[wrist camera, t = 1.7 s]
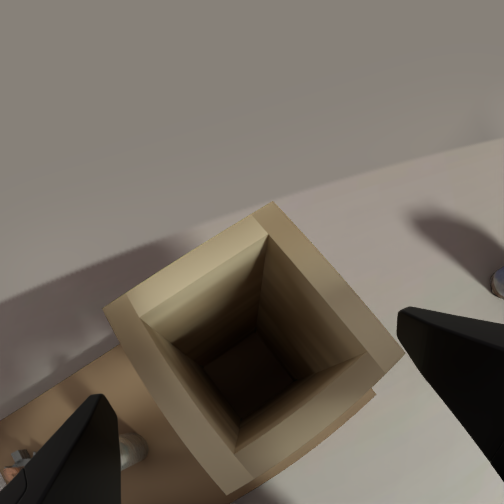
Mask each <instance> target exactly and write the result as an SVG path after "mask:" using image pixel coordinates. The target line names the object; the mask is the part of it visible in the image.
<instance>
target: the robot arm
mask: <svg viewBox="0 0 504 504" xmlns="http://www.w3.org/2000/svg"><path fill="white" fill-rule="evenodd" d="M397 337H398V339H399V341H400V343H401V344H402V346H403V347H404V349H405V350H406V352H407V353H408V355H409V356H410V358H411V359H412V361H413V362H414V364H415V365H416V367H417V368H418V370H419V371H420V373H421V374H422V375H423V377H424V378H425V379H426V380H427V382H428V383H429V384H430V385H431V387H432V388H433V389H434V390H435V391H436V393H437V394H438V395H439V396H440V398H441V399H442V400H443V401H444V403H445V404H446V405H447V407H448V408H449V409H450V410H451V412H452V413H453V414H454V415H455V417H456V418H457V419H458V421H459V422H460V423H461V424H462V426H463V427H464V428H465V430H466V431H467V432H468V434H469V435H470V436H471V438H472V439H473V440H474V441H475V443H476V444H477V445H478V447H479V448H480V450H481V451H482V452H483V454H484V455H485V456H486V458H487V459H488V460H489V462H490V463H491V465H492V466H493V468H494V469H495V470H496V472H497V473H498V475H499V476H500V477H501V479H502V480H503V482H504V324H499V323H494V322H488V321H483V320H478V319H472V318H467V317H462V316H457V315H451V314H446V313H441V312H436V311H431V310H426V309H421V308H416V307H407V308H404V309H402V310H400V311H399V312H398V317H397ZM0 504H121V456H120V445H119V432H118V418H117V415H116V412H115V411H114V409H113V408H112V406H111V404H110V403H109V401H108V400H107V398H106V396H105V395H104V394H102V393H99V394H92V395H90V396H89V397H88V398H87V399H86V400H85V401H84V402H83V403H82V404H81V405H80V406H79V407H78V408H77V409H76V410H75V411H74V413H73V414H72V415H71V416H70V417H69V418H68V419H67V420H66V421H65V422H64V423H63V424H62V425H61V427H60V428H59V429H58V430H57V431H56V432H55V433H54V434H53V435H52V436H51V437H50V438H49V440H48V441H47V442H46V443H45V444H44V445H43V446H42V447H41V448H40V449H39V450H38V452H37V453H36V454H35V455H34V456H33V457H32V458H31V459H30V460H29V461H28V463H27V464H26V465H25V466H24V468H22V469H21V470H20V471H19V473H18V474H17V475H16V476H15V477H14V478H13V479H12V480H11V481H10V482H9V483H8V484H7V485H6V486H5V487H4V488H3V489H2V490H1V491H0Z"/></svg>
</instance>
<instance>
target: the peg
mask: <svg viewBox="0 0 504 504" xmlns="http://www.w3.org/2000/svg"><path fill="white" fill-rule="evenodd" d="M119 445H120V456H121V471H122V470H124V469H126V468H128V467H130V466H132V465H134V464H136V463H138V462H140V461H142V460H143V459H145V458H146V457H147V455H148V451H149V448H148V444H147V442H146V440H145V439H144V438H143V437H142V436H140V435H139V434H136V433H126V434H121V435H119Z"/></svg>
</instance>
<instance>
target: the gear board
mask: <svg viewBox="0 0 504 504" xmlns="http://www.w3.org/2000/svg"><path fill="white" fill-rule="evenodd" d="M204 370H205V371H206V373H207V374H208V375H209V377H210V378H211V380H212V381H213V382H214V384H215V385H216V387H217V388H218V389H219V391H220V392H221V393H222V395H223V396H224V397H225V399H226V400H227V401H228V403H229V404H230V405H231V407H232V408H233V409H234V410H235V412H236V413H237V414H238V416H239V417H240V418H244V417H245V416H247V415H248V414H250V413H251V412H253V411H254V410H256V409H257V408H258V407H260V406H261V405H263V404H264V403H265V402H267V401H268V400H270V399H271V398H272V397H274V396H275V395H277V394H278V393H279V392H281V391H282V390H283V389H285V388H286V387H287V386H289V385H290V384H291V383H292V382H293V379H292V378H291V377H290V375H289V374H288V373H287V372H286V370H285V369H284V368H283V367H282V365H281V364H280V363H279V361H278V360H277V359H276V358H275V356H274V355H273V354H272V353H271V351H270V350H269V349H268V347H267V346H266V345H265V344H264V342H263V341H262V340H261V338H260V337H259V336H258V335H257V333H255V332H254V333H253V334H251V335H250V336H248V337H247V338H246V339H244V340H243V341H241V342H240V343H238V344H237V345H236V346H234V347H233V348H231V349H230V350H228V351H227V352H225V353H224V354H222V355H221V356H219V357H218V358H217V359H215V360H214V361H212V362H211V363H209V364H208V365H206V366H205V367H204ZM99 393H102V394H104V395H105V396H106V398H107V400H108V401H109V403H110V404H111V406H112V408H113V409H114V411H115V412H116V415H117V418H118V432H119V435H121V434H126V433H136V434H139V435H140V436H142V437H143V438H144V439H145V440H146V442H147V444H148V448H149V451H148V455H147V457H146V458H145V459H143V460H142V461H140V462H138V463H136V464H134V465H132V466H130V467H128V468H126V469H124V470H122V471H121V504H230V503H231V502H233V501H235V500H237V499H238V498H240V497H242V496H244V495H245V494H247V493H249V492H250V491H252V490H254V489H255V488H257V487H258V486H260V485H262V484H263V483H265V482H266V481H268V480H269V479H271V478H273V477H274V476H276V475H277V474H279V473H280V472H281V471H283V470H284V469H286V468H287V467H289V466H290V465H292V464H293V463H294V462H296V461H297V460H299V459H300V458H301V457H303V456H304V455H305V454H307V453H308V452H309V451H311V450H312V449H313V448H315V447H316V446H317V445H318V444H320V443H321V442H322V441H324V440H325V439H326V438H327V437H329V436H330V435H331V434H332V433H333V432H335V431H336V430H337V429H338V428H339V427H341V426H342V425H343V424H344V423H345V422H347V421H348V420H349V419H350V418H351V417H352V416H353V415H355V414H356V413H357V412H358V411H359V410H360V409H361V408H362V407H363V406H364V405H366V404H367V403H368V402H369V401H370V400H371V399H372V398H373V397H374V396H375V395H376V393H375V392H374V391H373V389H372V388H371V389H370V390H369V391H367V392H366V393H365V394H364V395H363V396H362V397H361V398H360V399H359V400H358V401H357V402H355V403H354V404H353V405H352V406H351V407H350V408H349V409H348V410H346V411H345V412H344V413H343V414H342V415H341V416H339V417H338V418H337V419H336V420H335V421H333V422H332V423H331V424H330V425H329V426H327V427H326V428H325V429H324V430H322V431H321V432H320V433H319V434H317V435H316V436H315V437H313V438H312V439H311V440H310V441H308V442H307V443H306V444H304V445H303V446H302V447H300V448H299V449H298V450H296V451H295V452H293V453H292V454H291V455H289V456H288V457H286V458H285V459H284V460H282V461H281V462H279V463H278V464H276V465H275V466H273V467H272V468H270V469H269V470H267V471H266V472H264V473H263V474H261V475H260V476H258V477H257V478H255V479H253V480H252V481H250V482H249V483H247V484H245V485H244V486H242V487H240V488H239V489H237V490H235V491H233V492H232V493H230V494H228V495H226V494H225V493H224V492H223V491H222V490H221V488H220V487H219V486H218V485H217V484H216V483H215V482H214V480H213V479H212V478H211V477H210V476H209V474H208V473H207V472H206V471H205V469H204V468H203V467H202V466H201V465H200V463H199V462H198V461H197V460H196V458H195V457H194V456H193V454H192V453H191V452H190V450H189V449H188V448H187V447H186V445H185V444H184V443H183V441H182V440H181V438H180V437H179V436H178V434H177V433H176V432H175V430H174V429H173V427H172V426H171V425H170V423H169V422H168V420H167V419H166V417H165V416H164V414H163V413H162V411H161V410H160V408H159V407H158V405H157V404H156V402H155V401H154V399H153V398H152V396H151V395H150V393H149V392H148V390H147V388H146V387H145V385H144V384H143V382H142V380H141V379H140V377H139V375H138V374H137V372H136V370H135V369H134V367H133V365H132V364H131V362H130V360H129V358H128V357H127V355H126V353H125V351H124V350H123V348H122V346H121V344H119V345H117V346H116V347H114V348H113V349H111V350H110V351H108V352H107V353H105V354H104V355H102V356H100V357H99V358H97V359H96V360H94V361H93V362H91V363H90V364H88V365H87V366H85V367H83V368H82V369H80V370H79V371H77V372H76V373H74V374H73V375H71V376H70V377H68V378H66V379H65V380H63V381H62V382H60V383H59V384H57V385H56V386H54V387H53V388H51V389H49V390H48V391H46V392H45V393H43V394H42V395H40V396H39V397H37V398H35V399H34V400H32V401H31V402H29V403H28V404H26V405H25V406H23V407H21V408H20V409H18V410H17V411H15V412H14V413H12V414H10V415H9V416H7V417H6V418H4V419H3V420H1V421H0V472H1V474H2V476H3V478H4V480H5V482H6V484H8V483H9V481H8V480H7V479H6V478H5V477H4V473H3V470H4V466H12V465H14V463H15V461H14V459H13V457H12V455H11V453H13V452H15V451H17V450H24V449H27V451H28V453H29V455H30V457H31V458H32V457H33V452H35V451H38V450H39V449H40V448H41V447H42V446H43V445H44V444H45V443H46V442H47V441H48V440H49V438H50V437H51V436H52V435H53V434H54V433H55V432H56V431H57V430H58V429H59V428H60V427H61V425H62V424H63V423H64V422H65V421H66V420H67V419H68V418H69V417H70V416H71V415H72V414H73V413H74V411H75V410H76V409H77V408H78V407H79V406H80V405H81V404H82V403H83V402H84V401H85V400H86V399H87V398H88V397H89V396H90V395H92V394H99Z"/></svg>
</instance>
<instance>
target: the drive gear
mask: <svg viewBox="0 0 504 504" xmlns="http://www.w3.org/2000/svg"><path fill="white" fill-rule="evenodd" d="M37 452H38V451H35V452H33V456H34V455H35V454H36V453H37ZM11 455H12V457H13V459H14V461H15V463H14V465H12V466H4V470H3V473H4V477H5V478H6V479H7V480H8V481H9V482H10V481H11V480H12V479H13V478H14V477H15V476H16V475H17V474H18V473H19V471H20V470H21V469H22V468H24V466H25V465H26V464H27V463H28V461H29V460H30V459H31V457H30V455H29V453H28V451H27V449H24V450H17V451H15V452H13V453H11Z"/></svg>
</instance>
